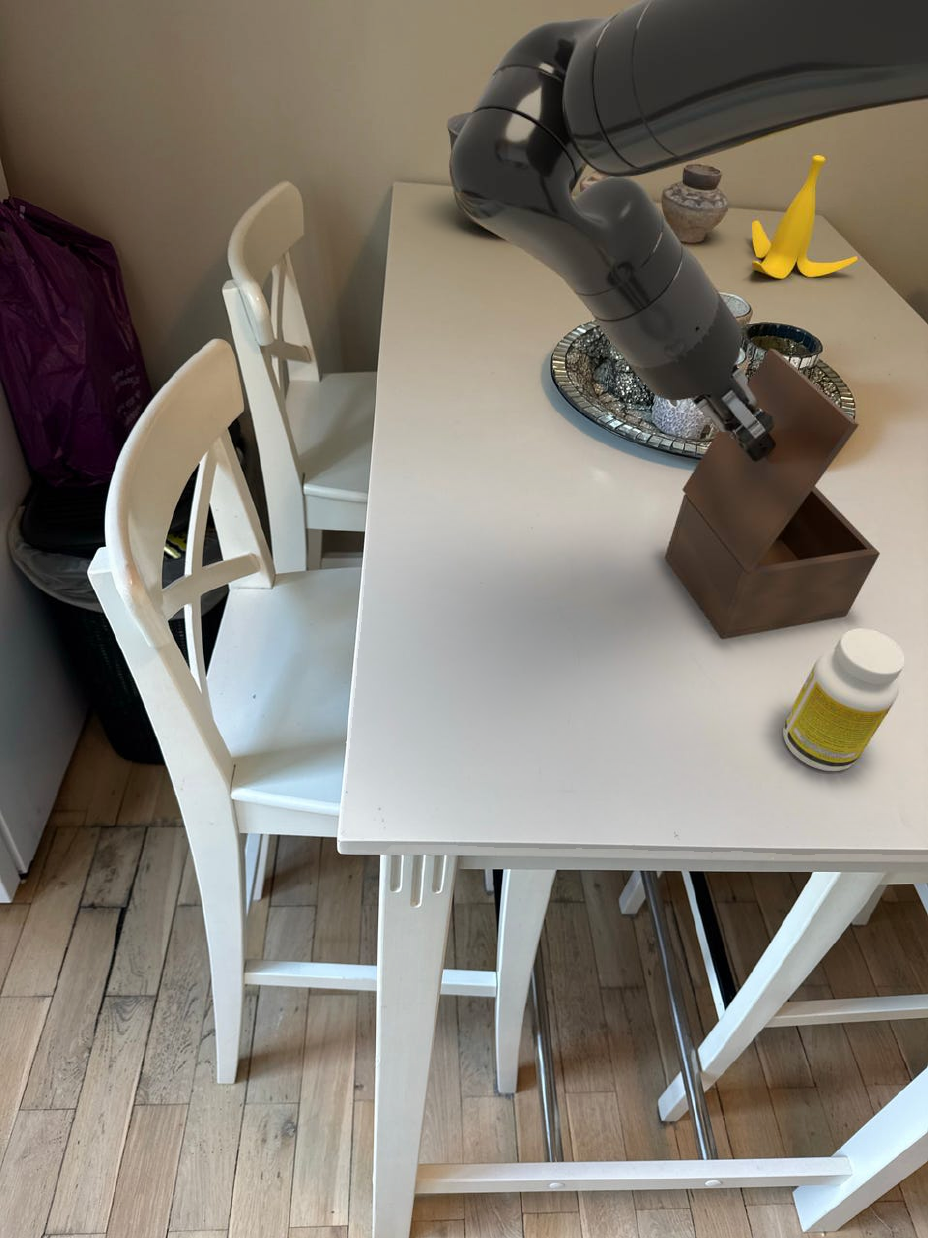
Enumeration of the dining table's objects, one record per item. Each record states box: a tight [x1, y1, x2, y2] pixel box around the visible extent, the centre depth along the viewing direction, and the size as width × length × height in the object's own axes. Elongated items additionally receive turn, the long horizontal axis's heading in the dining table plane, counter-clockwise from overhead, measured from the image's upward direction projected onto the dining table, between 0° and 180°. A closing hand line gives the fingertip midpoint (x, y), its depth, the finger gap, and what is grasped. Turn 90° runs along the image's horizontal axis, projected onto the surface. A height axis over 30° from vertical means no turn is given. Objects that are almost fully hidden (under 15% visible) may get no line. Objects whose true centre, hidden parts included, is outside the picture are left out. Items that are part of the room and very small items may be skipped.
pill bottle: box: [782, 627, 906, 772], centre depth 68 cm, size 6×6×11 cm
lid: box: [682, 348, 860, 571], centre depth 74 cm, size 14×12×1 cm
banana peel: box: [751, 154, 858, 280], centre depth 136 cm, size 16×19×17 cm
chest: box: [664, 485, 881, 640], centre depth 83 cm, size 14×12×8 cm
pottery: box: [579, 162, 731, 244], centre depth 146 cm, size 11×25×12 cm, turn 83°
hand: (761, 449), depth 73 cm, fingers closed
